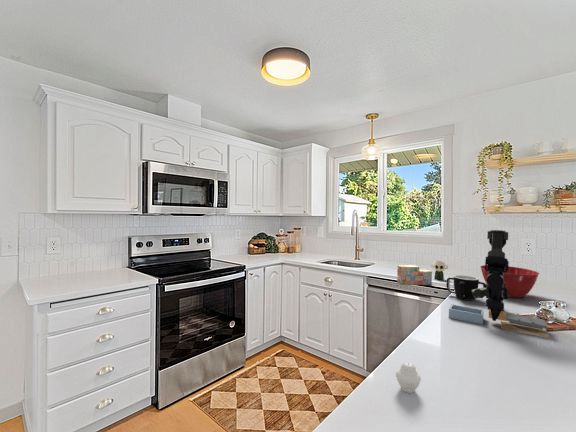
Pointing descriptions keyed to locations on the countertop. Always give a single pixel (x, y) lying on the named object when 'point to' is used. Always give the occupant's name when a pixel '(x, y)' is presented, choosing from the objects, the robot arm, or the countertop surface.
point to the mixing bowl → (516, 280)
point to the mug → (464, 286)
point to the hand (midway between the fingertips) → (494, 319)
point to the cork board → (524, 329)
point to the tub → (466, 314)
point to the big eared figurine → (439, 269)
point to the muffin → (408, 377)
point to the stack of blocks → (413, 275)
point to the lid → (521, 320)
